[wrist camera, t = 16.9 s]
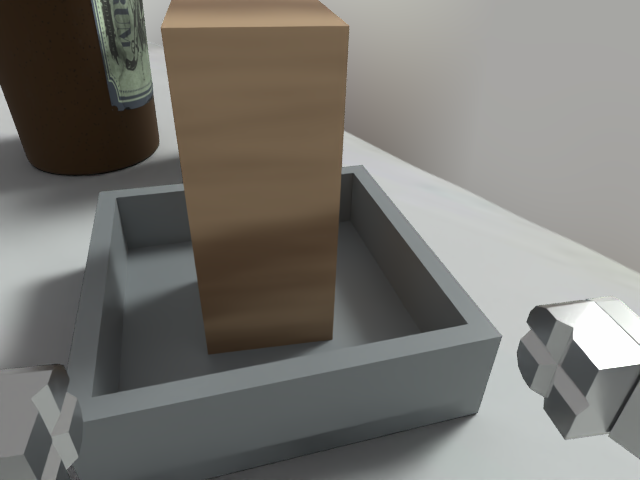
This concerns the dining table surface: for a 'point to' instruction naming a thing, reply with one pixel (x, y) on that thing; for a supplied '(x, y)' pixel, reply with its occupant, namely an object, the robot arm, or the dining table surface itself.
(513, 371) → the dining table surface
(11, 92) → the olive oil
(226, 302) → the wooden block
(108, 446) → the bin
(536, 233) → the dining table surface
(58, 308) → the dining table surface
